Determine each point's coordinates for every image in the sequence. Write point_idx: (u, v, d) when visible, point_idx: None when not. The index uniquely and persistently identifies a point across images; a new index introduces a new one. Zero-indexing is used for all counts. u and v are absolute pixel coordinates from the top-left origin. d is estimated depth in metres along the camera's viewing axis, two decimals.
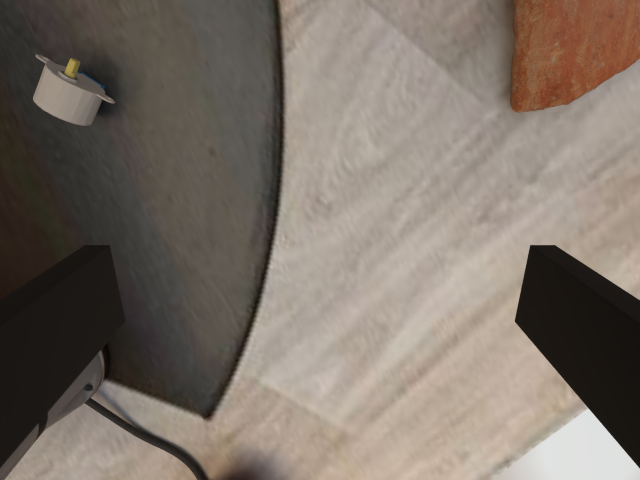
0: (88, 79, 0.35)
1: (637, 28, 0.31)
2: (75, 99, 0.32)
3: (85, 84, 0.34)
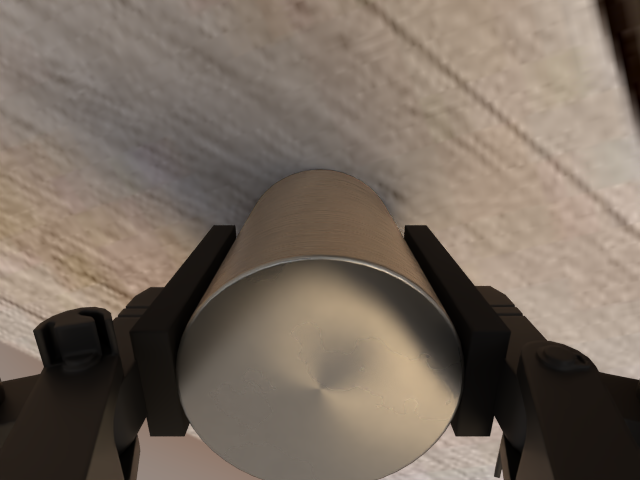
0: None
1: None
2: None
3: None
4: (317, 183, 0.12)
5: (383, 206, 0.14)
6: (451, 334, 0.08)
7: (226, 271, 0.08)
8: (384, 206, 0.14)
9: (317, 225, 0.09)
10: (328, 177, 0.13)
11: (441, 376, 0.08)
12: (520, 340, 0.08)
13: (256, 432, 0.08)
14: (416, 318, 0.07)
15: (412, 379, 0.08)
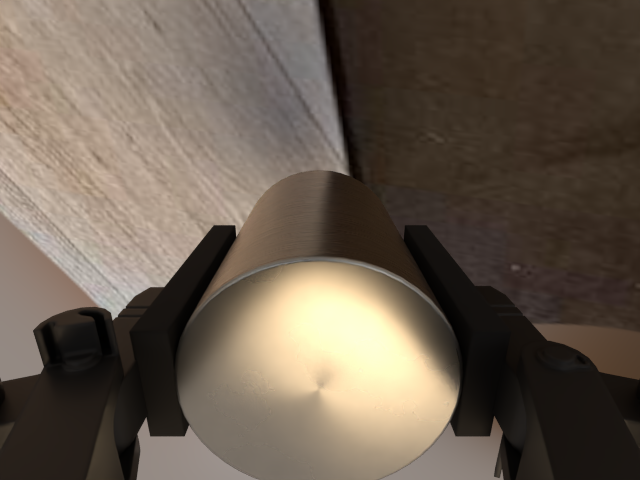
0: None
1: None
2: None
3: None
4: (316, 184, 0.13)
5: (382, 207, 0.14)
6: (449, 335, 0.08)
7: (225, 272, 0.08)
8: (383, 207, 0.14)
9: (316, 225, 0.09)
10: (327, 178, 0.13)
11: (439, 377, 0.08)
12: (520, 340, 0.08)
13: (255, 432, 0.08)
14: (415, 320, 0.07)
15: (410, 380, 0.08)
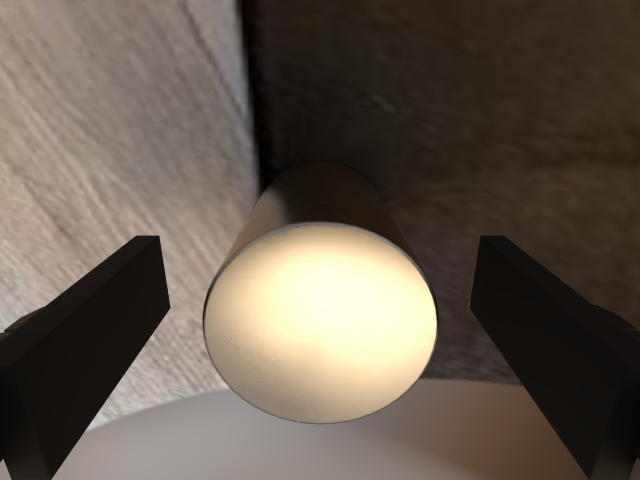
0: None
1: None
2: None
3: None
4: (318, 171, 0.14)
5: (376, 192, 0.15)
6: (427, 287, 0.09)
7: (244, 238, 0.10)
8: (377, 193, 0.16)
9: (318, 201, 0.10)
10: (327, 167, 0.15)
11: (419, 323, 0.10)
12: None
13: (268, 372, 0.10)
14: (399, 274, 0.09)
15: (396, 325, 0.10)
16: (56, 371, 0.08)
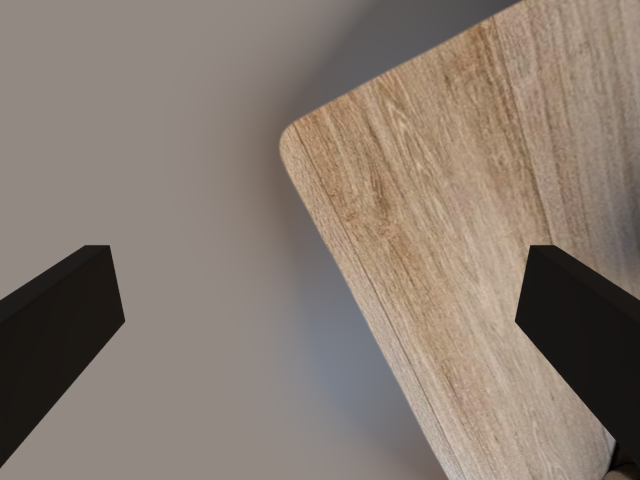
0: None
1: None
2: None
3: None
4: None
5: None
6: None
7: None
8: None
9: None
10: None
11: None
12: None
13: None
14: None
15: None
16: None
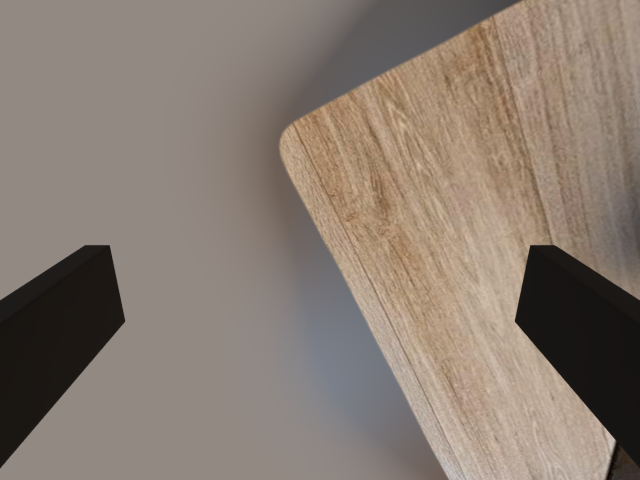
0: None
1: None
2: None
3: None
4: None
5: None
6: None
7: None
8: None
9: None
10: None
11: None
12: None
13: None
14: None
15: None
16: None
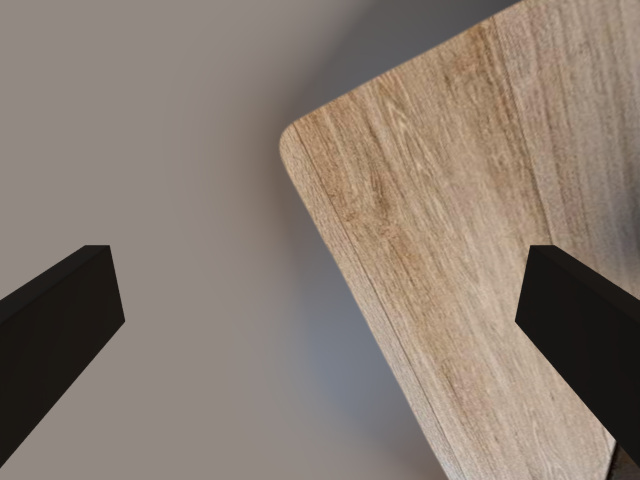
0: None
1: None
2: None
3: None
4: None
5: None
6: None
7: None
8: None
9: None
10: None
11: None
12: None
13: None
14: None
15: None
16: None
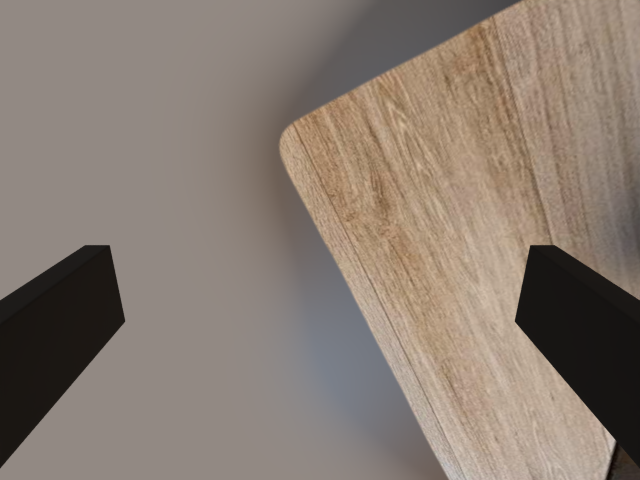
0: None
1: None
2: None
3: None
4: None
5: None
6: None
7: None
8: None
9: None
10: None
11: None
12: None
13: None
14: None
15: None
16: None
